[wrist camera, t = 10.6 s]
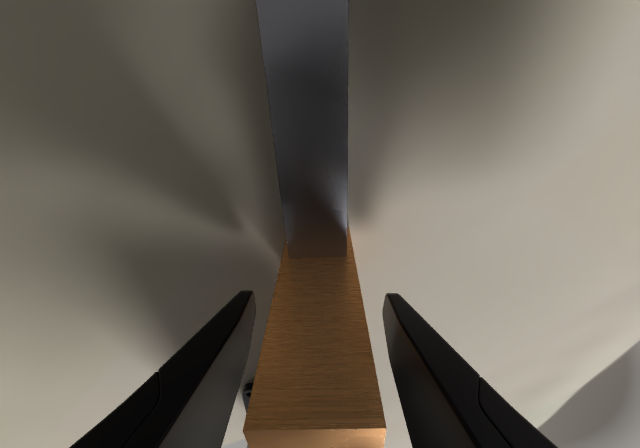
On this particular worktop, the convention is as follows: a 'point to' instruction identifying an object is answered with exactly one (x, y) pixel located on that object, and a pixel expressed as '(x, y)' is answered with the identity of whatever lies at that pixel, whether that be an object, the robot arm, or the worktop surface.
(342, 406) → the hook tool
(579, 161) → the worktop surface
